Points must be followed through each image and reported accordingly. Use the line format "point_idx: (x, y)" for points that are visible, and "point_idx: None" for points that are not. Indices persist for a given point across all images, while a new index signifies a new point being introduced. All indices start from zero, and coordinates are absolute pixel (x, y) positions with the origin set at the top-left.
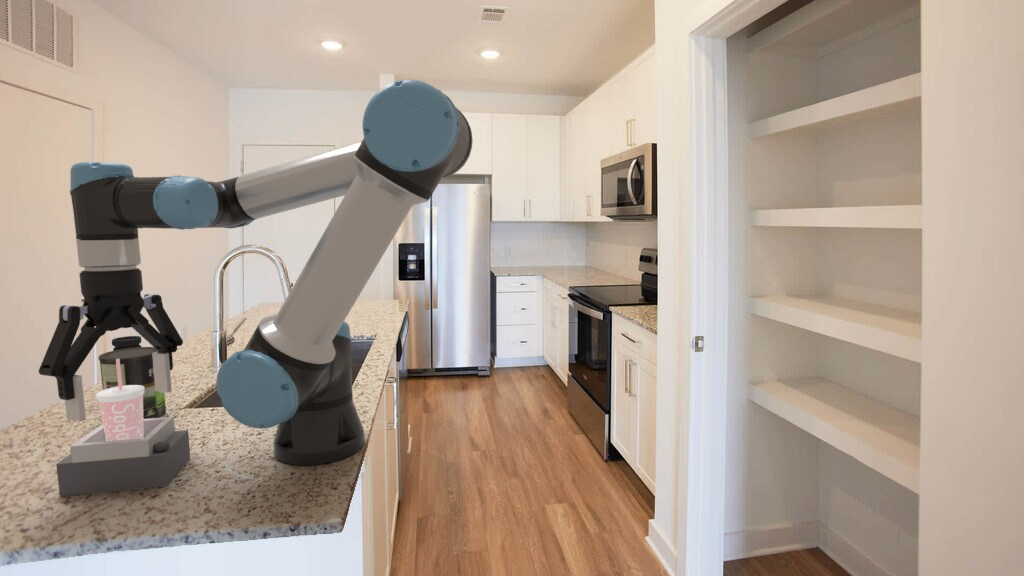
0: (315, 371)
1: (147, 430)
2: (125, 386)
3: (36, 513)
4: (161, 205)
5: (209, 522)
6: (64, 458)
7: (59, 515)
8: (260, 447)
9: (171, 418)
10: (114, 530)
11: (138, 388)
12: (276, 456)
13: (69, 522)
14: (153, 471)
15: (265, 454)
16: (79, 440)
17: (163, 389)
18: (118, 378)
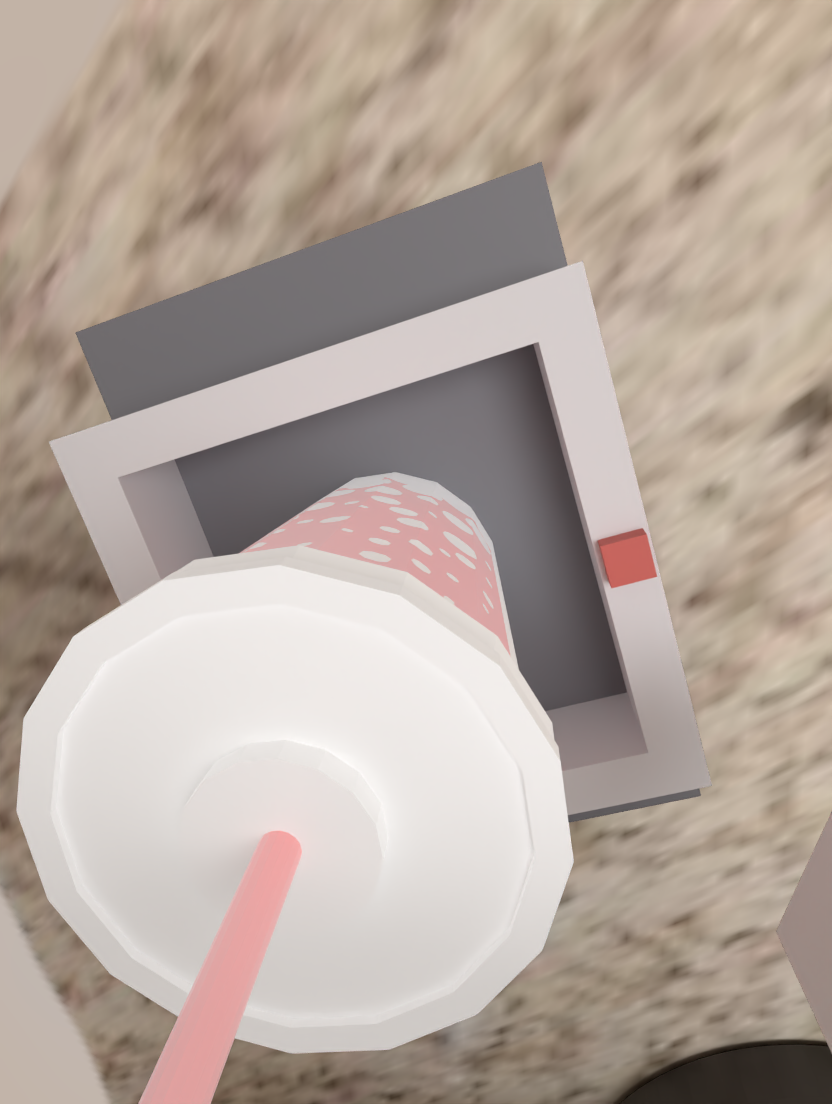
0: None
1: (603, 597)
2: (511, 740)
3: (26, 363)
4: None
5: (126, 1048)
6: (155, 307)
7: (38, 489)
8: None
9: (671, 789)
10: (8, 789)
11: (443, 952)
12: (647, 1093)
13: (7, 581)
14: None
15: (707, 1014)
16: (152, 412)
17: (814, 905)
18: (198, 991)
